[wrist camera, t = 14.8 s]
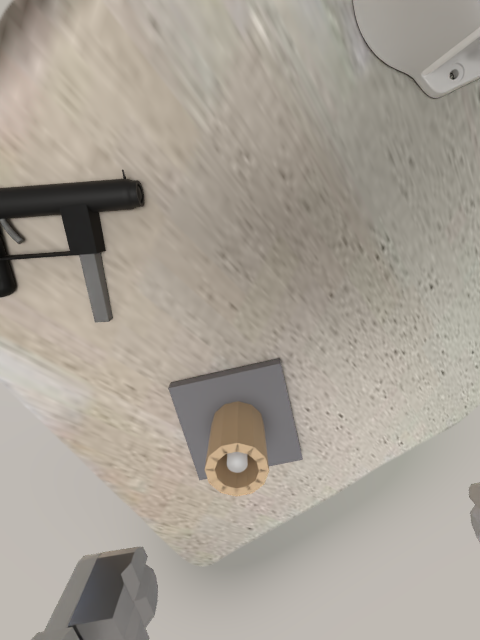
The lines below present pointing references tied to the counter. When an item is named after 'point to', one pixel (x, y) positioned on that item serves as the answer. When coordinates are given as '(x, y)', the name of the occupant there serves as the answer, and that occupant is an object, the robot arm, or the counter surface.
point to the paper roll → (237, 449)
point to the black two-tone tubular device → (70, 227)
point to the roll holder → (232, 386)
